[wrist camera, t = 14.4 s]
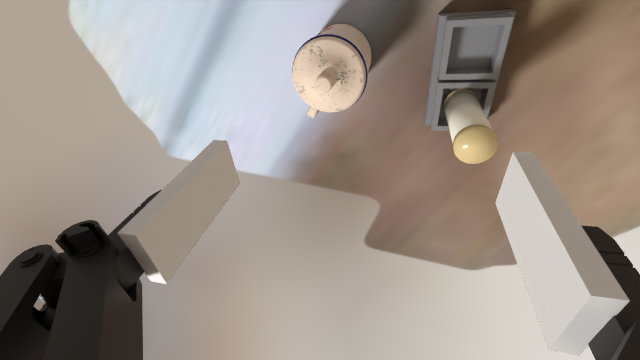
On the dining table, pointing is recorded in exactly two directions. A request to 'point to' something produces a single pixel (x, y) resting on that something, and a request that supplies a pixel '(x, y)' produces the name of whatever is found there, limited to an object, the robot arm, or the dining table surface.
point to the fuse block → (467, 59)
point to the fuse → (469, 127)
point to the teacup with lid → (332, 69)
